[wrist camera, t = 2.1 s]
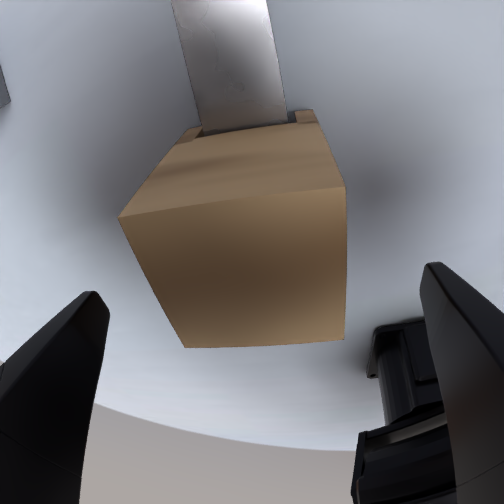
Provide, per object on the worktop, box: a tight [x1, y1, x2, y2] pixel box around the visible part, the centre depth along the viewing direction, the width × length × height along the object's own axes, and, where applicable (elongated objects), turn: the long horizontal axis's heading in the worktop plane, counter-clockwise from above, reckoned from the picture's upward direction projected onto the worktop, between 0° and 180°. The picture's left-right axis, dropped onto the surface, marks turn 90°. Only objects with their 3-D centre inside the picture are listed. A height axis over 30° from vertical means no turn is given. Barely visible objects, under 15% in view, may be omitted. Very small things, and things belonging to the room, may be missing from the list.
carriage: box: [117, 109, 347, 348], centre depth 10 cm, size 5×5×7 cm
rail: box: [171, 0, 289, 137], centre depth 10 cm, size 17×3×3 cm, turn 10°
